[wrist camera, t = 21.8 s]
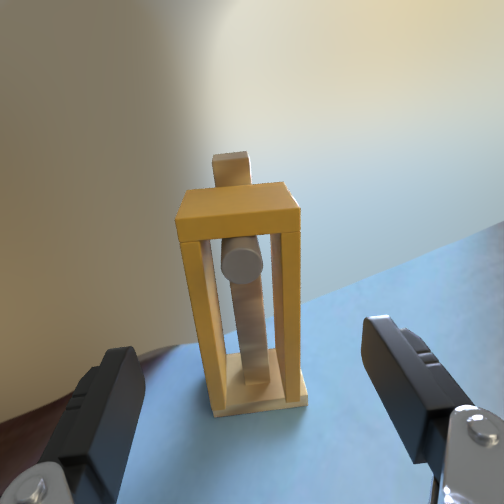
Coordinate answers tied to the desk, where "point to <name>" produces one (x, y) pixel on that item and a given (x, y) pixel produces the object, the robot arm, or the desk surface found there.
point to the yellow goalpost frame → (203, 276)
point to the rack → (248, 313)
